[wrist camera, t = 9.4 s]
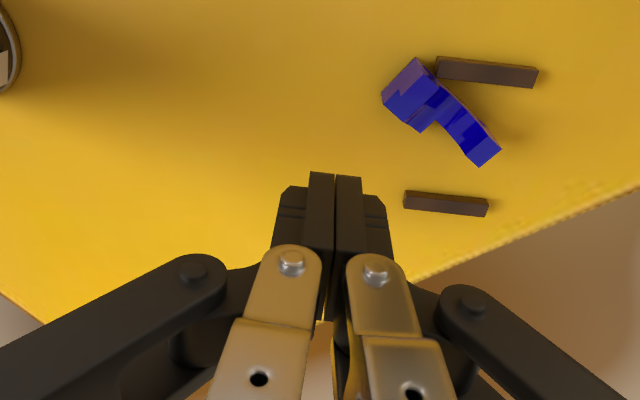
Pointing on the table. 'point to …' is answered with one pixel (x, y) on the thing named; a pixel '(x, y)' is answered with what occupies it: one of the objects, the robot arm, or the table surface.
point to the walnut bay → (480, 74)
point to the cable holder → (438, 111)
